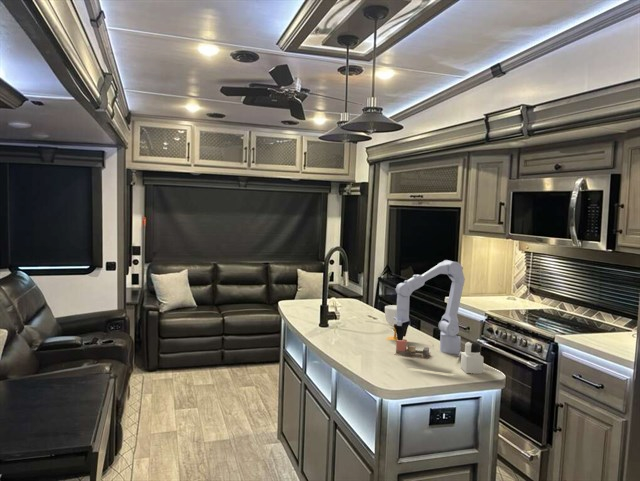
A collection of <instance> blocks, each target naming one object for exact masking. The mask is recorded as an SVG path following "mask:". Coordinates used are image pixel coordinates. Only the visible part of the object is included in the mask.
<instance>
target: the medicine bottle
mask: <svg viewBox="0 0 640 481" xmlns="http://www.w3.org/2000/svg"><path fill="white" fill-rule="evenodd" d="M460 358H461V359H460V369H461V370H462V371H463V372H464V373H465V374H467V373H471V374H472V373H473V374H474V375H475V374H476V375H478V374H479V375H483V374H484V356H483V355H481V344H480V343H478V342H475V341H467V342H465V344H464V351H462V352H460ZM471 374H470V375H471ZM473 374H472V375H473Z"/></svg>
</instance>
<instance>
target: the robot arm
mask: <svg viewBox="0 0 640 481" xmlns="http://www.w3.org/2000/svg"><path fill="white" fill-rule="evenodd" d="M463 270H464V267H463V266H462V265H461V263H459V262H458V261H452V260H448V259H444V260H443V261H441V262H438V263H437V265H435V266H433V267H431V268H430V269H429V270H427V271H426V272H424V273H422V274H413V275H412V277H410V278H409V279H407V280H406V279H405V280H404V281H403V282H400V283H398V284H397V285H396V286H395V287H396V288H395V290H394V291H395V292H396V294H397V295H396V305H397V311H396V317H394V320H396V321H397V324H394V327H393V329H394V328H395V330H396V337H397V339H398V340H403V339H404V337H405V338H406V335H407V333H408V328H409V325H410V324H411V321H410V317H409V316H410V296H411V295H412V294H413V292H414V291H416V290H418V289H420V288H421V287H423V286H424V285H425V282H427V281H428V280H431V279H432V278H435V277H436V276H438V275H447V276H448V278H449V279H450V280H451V285H450V290H449V296H448V300H447V305H446V307H445V312H444V314H443V315H442V316H441V319H440V321H439V322H438V325H437V326H438V329H439V330H440V338H439V351H440V353H444V354H451V355H452V354H453V355H456V357H457V358H458V357H460V356H461V350H462V348H461V342H462V341H461V336H459V335H458V334H459V331H460V327H459V324H460V321H459V318H458V312H459V307H460V304H461V299H462V295H463V289H464V284H465V282H466V281H465V280H466V279H465V276H464V275H465V274H464V272H463Z"/></svg>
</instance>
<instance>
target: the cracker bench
mask: <svg viewBox="0 0 640 481" xmlns="http://www.w3.org/2000/svg"><path fill="white" fill-rule="evenodd" d="M407 349H408V348H406V352H399V353H396V352H395V353H394V356H399V357H406V358H414V359H422V360H423V359H424V360H428V359H429V357H430V355H431V352H430V347H424V348H423V349H422V350H419V349H415V353H407Z"/></svg>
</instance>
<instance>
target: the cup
mask: <svg viewBox="0 0 640 481" xmlns="http://www.w3.org/2000/svg"><path fill="white" fill-rule="evenodd" d="M396 311H397V304H392V305H391V304H388V305H385V306H384V315H385V317H384V318H385V321H386V322H387V325H389V326H391V327H392V328H393V330H394V331H393V336H388V337H386V339H385V340H388V341H389V340H390V341H395V342H396V341H397V334H396V330H395V328H394V324H397V321H396V320H394V317H396Z"/></svg>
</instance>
